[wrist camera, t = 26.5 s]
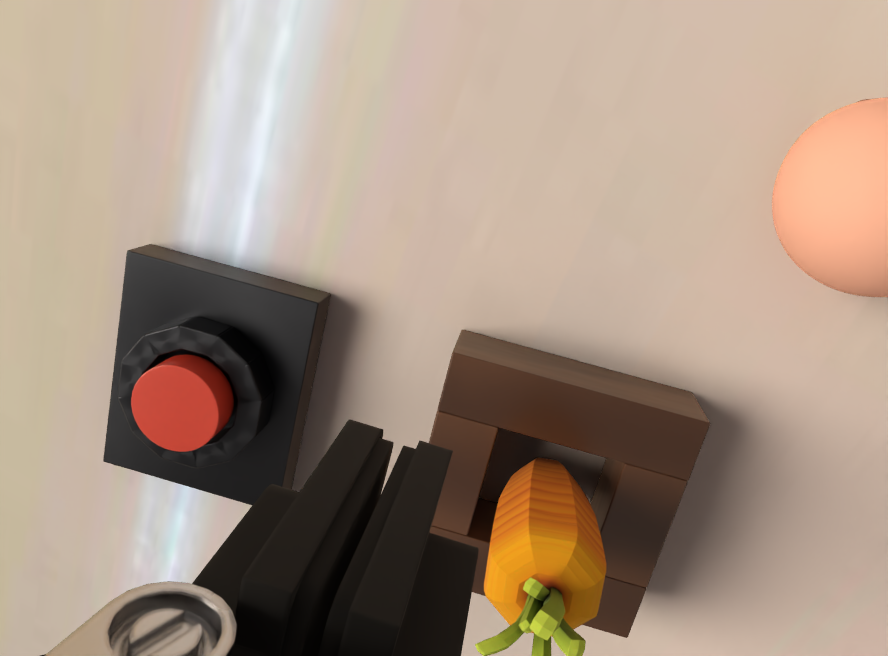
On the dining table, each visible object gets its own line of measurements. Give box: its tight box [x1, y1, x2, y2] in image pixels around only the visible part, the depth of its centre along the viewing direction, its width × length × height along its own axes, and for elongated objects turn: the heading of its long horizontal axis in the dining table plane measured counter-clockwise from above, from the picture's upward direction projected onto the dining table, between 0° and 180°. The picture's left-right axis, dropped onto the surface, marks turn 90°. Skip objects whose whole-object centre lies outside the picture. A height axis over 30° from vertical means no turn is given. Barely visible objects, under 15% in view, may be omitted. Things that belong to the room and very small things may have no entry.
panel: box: [104, 244, 331, 505], centre depth 37 cm, size 12×10×4 cm
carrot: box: [475, 457, 606, 656], centre depth 30 cm, size 5×5×15 cm
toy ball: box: [772, 98, 888, 297], centre depth 28 cm, size 8×8×8 cm
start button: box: [131, 354, 234, 452], centre depth 34 cm, size 4×4×2 cm
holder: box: [429, 330, 710, 638], centre depth 36 cm, size 12×12×4 cm
